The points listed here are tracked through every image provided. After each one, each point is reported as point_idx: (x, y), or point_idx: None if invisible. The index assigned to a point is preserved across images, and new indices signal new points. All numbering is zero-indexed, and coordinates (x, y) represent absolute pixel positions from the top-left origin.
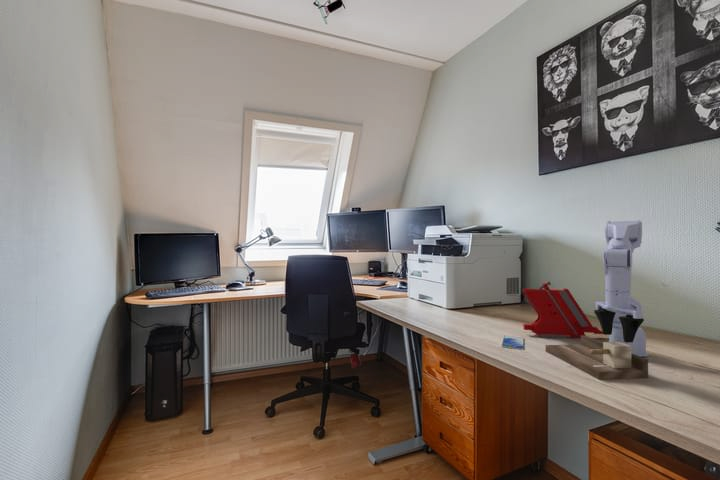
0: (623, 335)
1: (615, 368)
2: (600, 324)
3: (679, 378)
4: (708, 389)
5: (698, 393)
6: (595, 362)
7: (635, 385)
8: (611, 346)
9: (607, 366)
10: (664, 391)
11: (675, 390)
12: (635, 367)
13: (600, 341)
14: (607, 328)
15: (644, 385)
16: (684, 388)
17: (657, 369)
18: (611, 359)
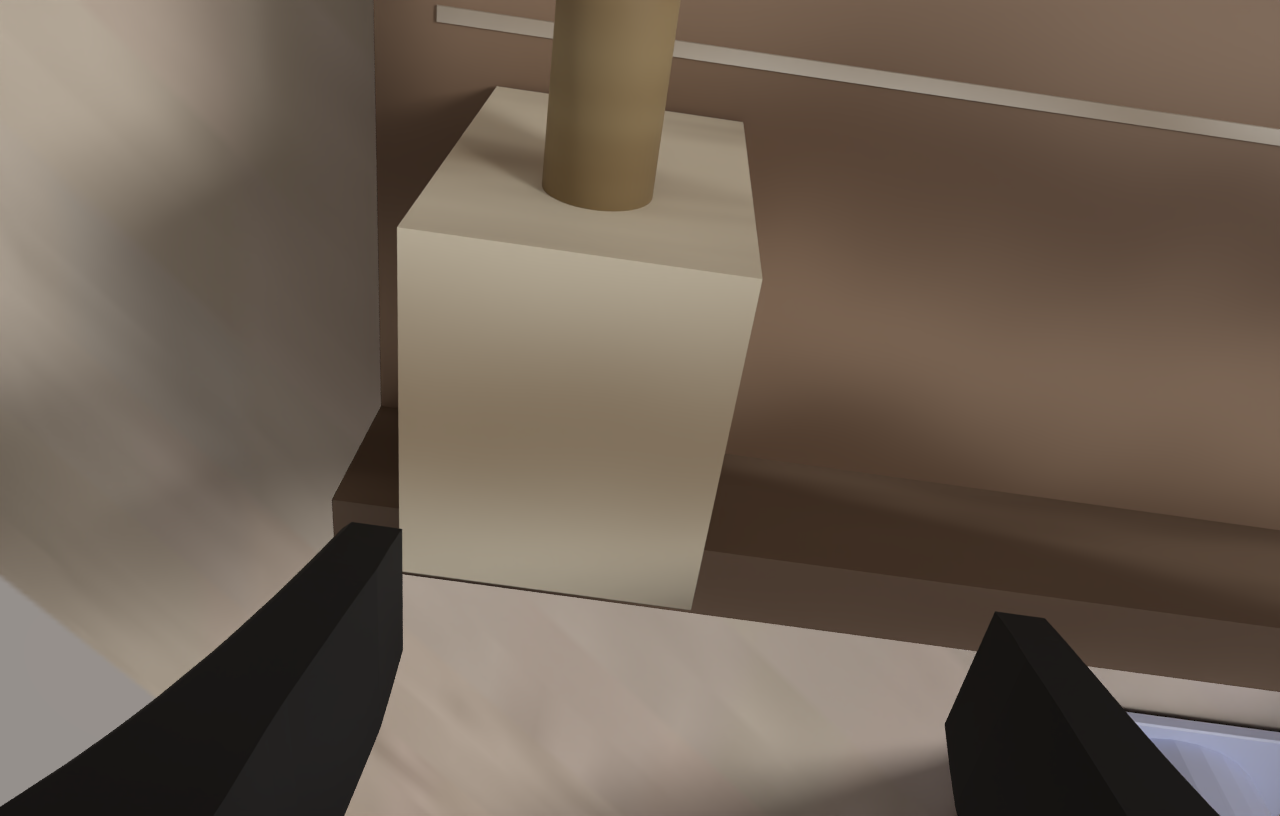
0: (331, 611)
1: None
2: (1207, 805)
3: None
4: (120, 642)
5: (7, 490)
6: (827, 33)
7: (174, 37)
8: (487, 227)
9: None
10: (10, 220)
11: (58, 361)
12: None
13: (1258, 683)
14: (1021, 796)
15: (181, 160)
16: (124, 488)
17: (620, 699)
18: (535, 131)
